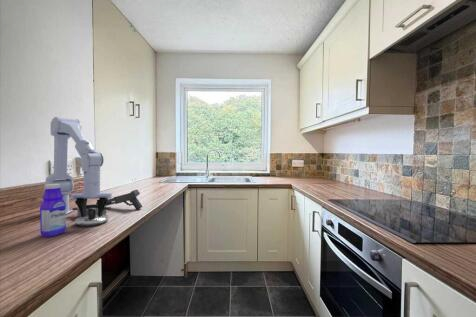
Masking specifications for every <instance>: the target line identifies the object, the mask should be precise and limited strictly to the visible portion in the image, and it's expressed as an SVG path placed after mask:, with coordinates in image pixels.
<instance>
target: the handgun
mask: <svg viewBox="0 0 476 317" xmlns="http://www.w3.org/2000/svg"><path fill="white" fill-rule="evenodd" d="M140 194H141V193H140V191H139V190H138V189H134V190H132V191H130V192H129V193H128V192H127V193H125V194H121V195H118V196H114V197H112V198H111V199H108V201H107V202H106V204H105V205H106V207H109V206H112V205H116V204H117V205H118V204H121V203H124V204H126V205H127V206H129V207H130V206H133V207H134V208H135V210H136V211H138V210H140V209H142V208H143V207H144V206H143V205H142V203H141V202H140V201H139V199H138V196H139V195H140ZM129 202H130V203H129ZM95 204H97V202H95Z"/></svg>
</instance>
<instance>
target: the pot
mask: <svg viewBox="0 0 476 317" xmlns="http://www.w3.org/2000/svg"><path fill="white" fill-rule="evenodd" d="M89 208H96V215H98V204H96V203H93V204H87V205H86V216H88V209H89ZM111 209H112V207H111V206H106V205H105V207H104V209H103V213H102V215H107V210H111ZM71 210H73V211H77V212H76V213H77V216H76V217H77V218H80V217H82V216H81V212H80V210H79V208H78V206H77V207H72V209H71Z"/></svg>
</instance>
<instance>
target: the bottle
mask: <svg viewBox="0 0 476 317" xmlns="http://www.w3.org/2000/svg"><path fill="white" fill-rule="evenodd" d="M44 185H45V184H44ZM41 198H42V200H43V202H41V204H40V206H39V219H40V220H39V222H40V223H39V226H40V227H39V228H40V231H39V232H40V235H41V236H42V237H47V238H50V237H54V236H55V237H56V236H58V235H61V234H63V233H65V232H66V230H67V217H66V216H67V214H66V204H65V202H64V200H63V199H62V198H63V195H62V193H61V190H60V184H47V185H45V189H44V194H43V196H42V197H41Z"/></svg>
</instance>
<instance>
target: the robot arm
mask: <svg viewBox="0 0 476 317" xmlns="http://www.w3.org/2000/svg"><path fill="white" fill-rule="evenodd" d="M50 136H53V138H54V139H53V141H54V142H53V172H52V173H51V174H49V175H48V176H46V178H45V182H44V186H43V187H44V190H45V185H47V184H60V190H61V193H62V195H63V198H62V199H63V200H64V202H65V204H66V215H67V214H70V213H72V212H74V210H72V209H71V210H70V198H71V200H74V203H75V205H76V206H77V207H78V208H79V210H80V212H81V216H82V217H85V216H86V205H88V199H89V200H90V199H91V200H92V199H95V200H96V203H97V204H98V217H101V216H102V213H103V209H104V207H105V204H106V202H107V201H108V199H112V198H113V192H101V167H103V165H104V156H103V154H102V153H101V152H98V151H96V149H95V148H94V146H93V145H92V143H91V142H90V141H89V140H88V139H86V137H85V136H84V135H83V133H82V123H81V120H80V119H78V118H77V119H74V118H73V119H72V118H66V117H57V116H54V117H53V118H52V119H51V121H50ZM70 138H71V139H72V141H74V143H75V145H74V148H75V150H76V151H77V153H78V155H79V157H80V159H79V160H80V165H81V170H82V172H83V192H79V193H72V192H73V190H74V186H75V184H74V181H73V176H72V175H71V174H69V173H68V150H69V149H68V145H69V143H68V141H69V139H70ZM42 202H43V199H42ZM42 202H41V203H42Z"/></svg>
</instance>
